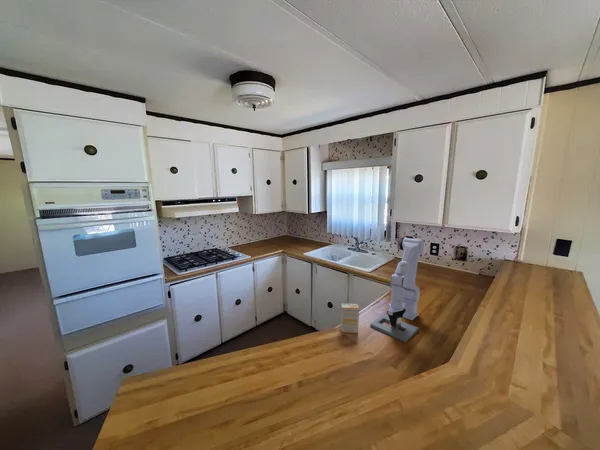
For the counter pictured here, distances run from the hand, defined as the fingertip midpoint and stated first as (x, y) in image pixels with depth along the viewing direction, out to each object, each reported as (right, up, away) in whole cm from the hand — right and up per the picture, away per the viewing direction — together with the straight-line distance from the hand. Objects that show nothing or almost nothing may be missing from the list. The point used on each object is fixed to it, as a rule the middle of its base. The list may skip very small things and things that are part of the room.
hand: (395, 324), depth 117 cm
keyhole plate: (-1, -3, +1) cm, 3 cm away
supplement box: (-24, -3, -2) cm, 24 cm away
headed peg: (0, -2, 0) cm, 2 cm away
